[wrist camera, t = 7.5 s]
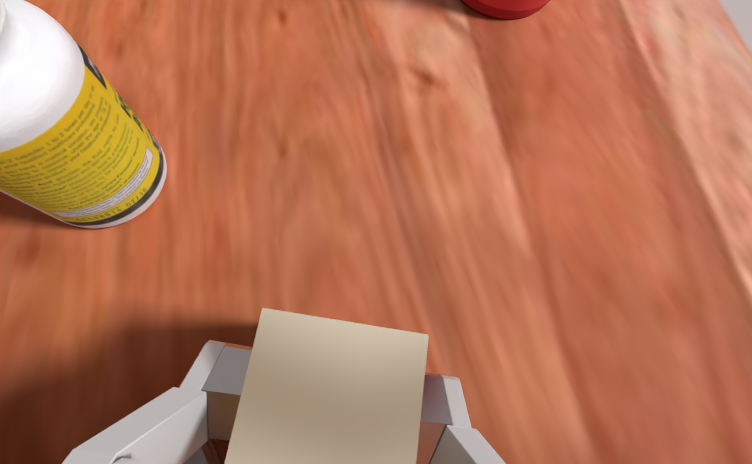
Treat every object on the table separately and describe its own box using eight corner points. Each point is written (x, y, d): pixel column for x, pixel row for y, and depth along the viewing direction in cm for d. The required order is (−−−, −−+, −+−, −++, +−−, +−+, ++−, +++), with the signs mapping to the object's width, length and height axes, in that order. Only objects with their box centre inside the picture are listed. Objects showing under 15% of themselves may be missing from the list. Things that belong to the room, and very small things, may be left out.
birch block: (367, 438, 15) (409, 533, 7) (271, 425, 15) (212, 510, 7) (381, 339, 16) (428, 334, 9) (292, 325, 16) (262, 307, 8)
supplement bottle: (194, 155, 18) (48, -52, 9) (123, 251, 16) (-159, 120, 7) (96, 108, 18) (-155, -148, 9) (15, 198, 16) (-409, -2, 7)
